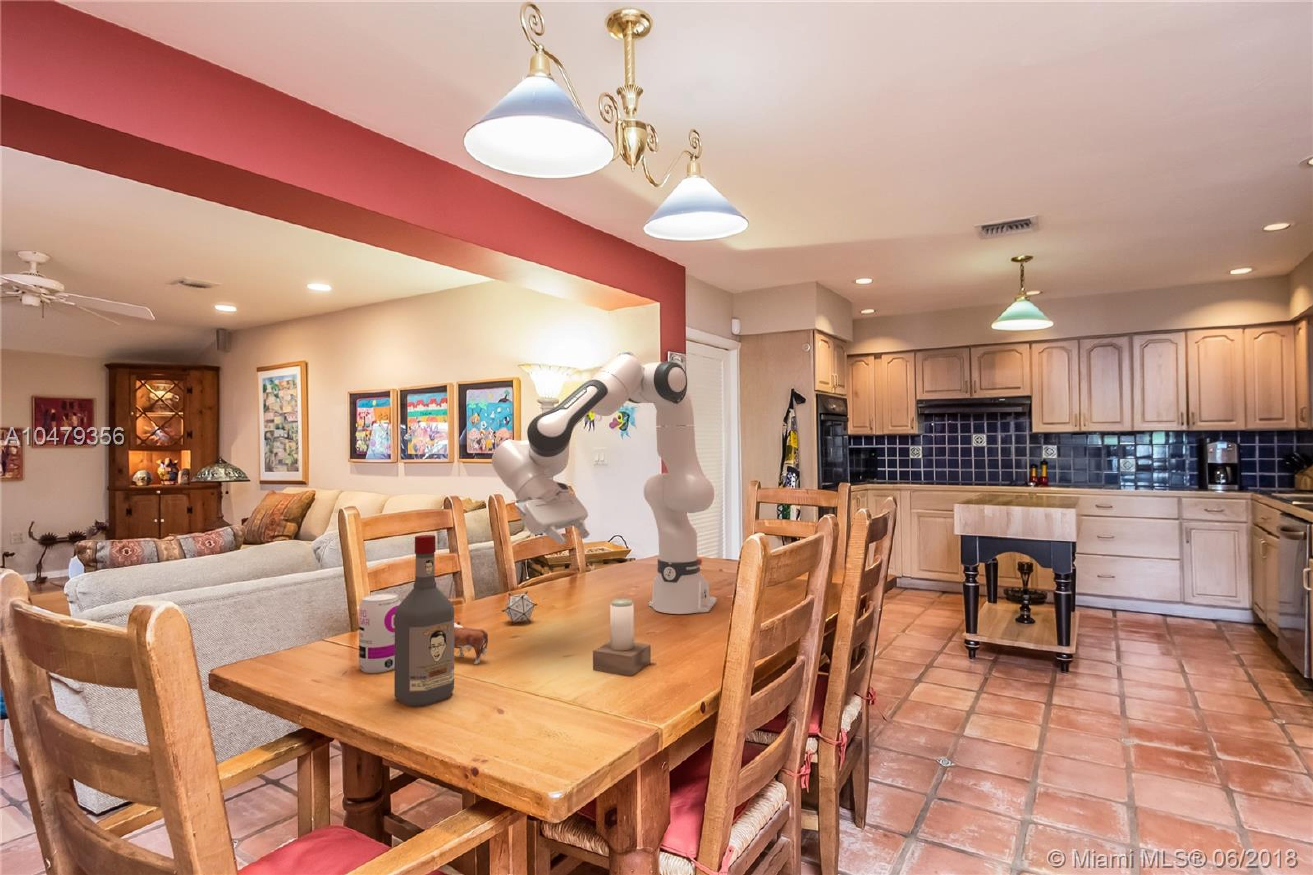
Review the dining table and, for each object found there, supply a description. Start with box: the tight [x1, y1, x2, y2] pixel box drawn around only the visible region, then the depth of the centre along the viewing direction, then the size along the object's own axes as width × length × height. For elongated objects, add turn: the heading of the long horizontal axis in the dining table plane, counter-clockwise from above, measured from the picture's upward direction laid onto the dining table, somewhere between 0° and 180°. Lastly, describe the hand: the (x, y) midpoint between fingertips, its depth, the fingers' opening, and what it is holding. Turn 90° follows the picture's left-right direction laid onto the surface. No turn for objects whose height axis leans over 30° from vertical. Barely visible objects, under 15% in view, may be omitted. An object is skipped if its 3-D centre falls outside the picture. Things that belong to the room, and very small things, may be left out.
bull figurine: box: [454, 621, 489, 665], centre depth 145 cm, size 4×13×8 cm, turn 59°
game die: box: [501, 590, 538, 626], centre depth 176 cm, size 9×8×10 cm
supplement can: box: [358, 592, 402, 674], centre depth 140 cm, size 8×8×15 cm
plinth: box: [592, 641, 652, 677], centre depth 140 cm, size 9×9×4 cm
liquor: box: [393, 534, 455, 707], centre depth 124 cm, size 9×9×30 cm
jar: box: [609, 598, 635, 651], centre depth 140 cm, size 5×5×10 cm
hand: (575, 539), depth 151 cm, fingers open, 8 cm apart
